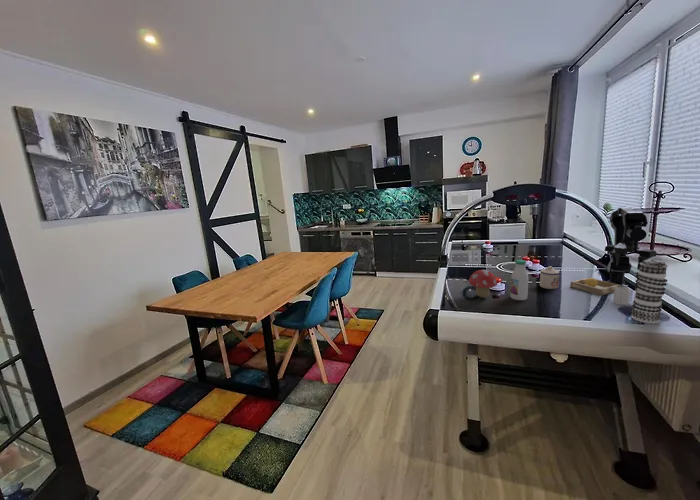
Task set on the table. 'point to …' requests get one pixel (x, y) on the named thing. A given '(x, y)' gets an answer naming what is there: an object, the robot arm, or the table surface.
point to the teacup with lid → (549, 278)
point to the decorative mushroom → (483, 282)
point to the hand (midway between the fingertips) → (627, 267)
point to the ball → (591, 282)
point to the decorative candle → (649, 291)
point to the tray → (600, 289)
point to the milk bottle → (519, 281)
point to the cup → (621, 296)
